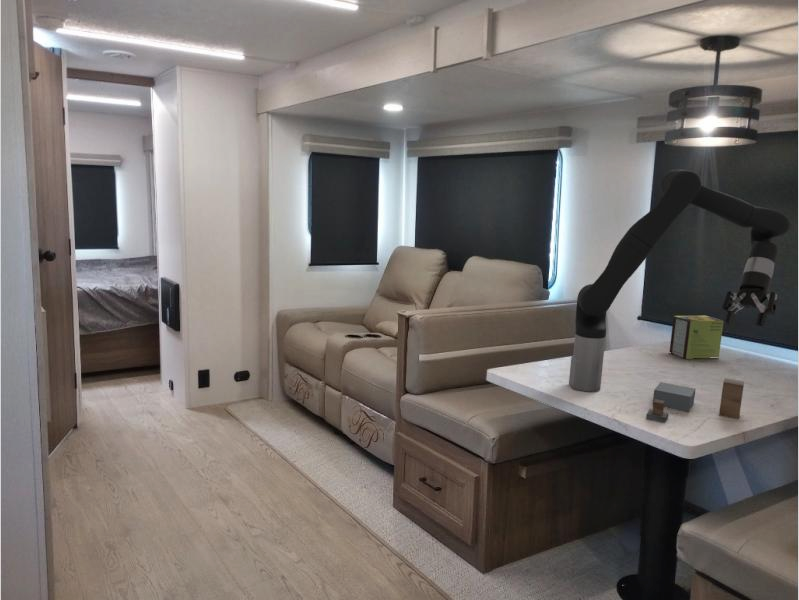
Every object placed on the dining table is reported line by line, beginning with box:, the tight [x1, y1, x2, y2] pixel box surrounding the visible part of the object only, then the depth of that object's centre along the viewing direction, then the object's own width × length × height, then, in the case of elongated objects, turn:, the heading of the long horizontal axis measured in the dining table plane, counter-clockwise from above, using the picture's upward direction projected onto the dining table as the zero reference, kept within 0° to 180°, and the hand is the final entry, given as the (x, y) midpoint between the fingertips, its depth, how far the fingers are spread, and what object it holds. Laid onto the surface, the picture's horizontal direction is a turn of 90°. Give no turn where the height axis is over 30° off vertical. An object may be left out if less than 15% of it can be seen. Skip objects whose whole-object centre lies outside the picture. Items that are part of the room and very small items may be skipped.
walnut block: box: [718, 377, 745, 420], centre depth 177 cm, size 5×5×10 cm
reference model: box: [645, 399, 669, 424], centre depth 172 cm, size 5×5×5 cm
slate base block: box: [652, 381, 696, 413], centre depth 185 cm, size 10×10×5 cm
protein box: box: [669, 315, 724, 360], centre depth 246 cm, size 10×15×16 cm
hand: (743, 325), depth 181 cm, fingers open, 8 cm apart
